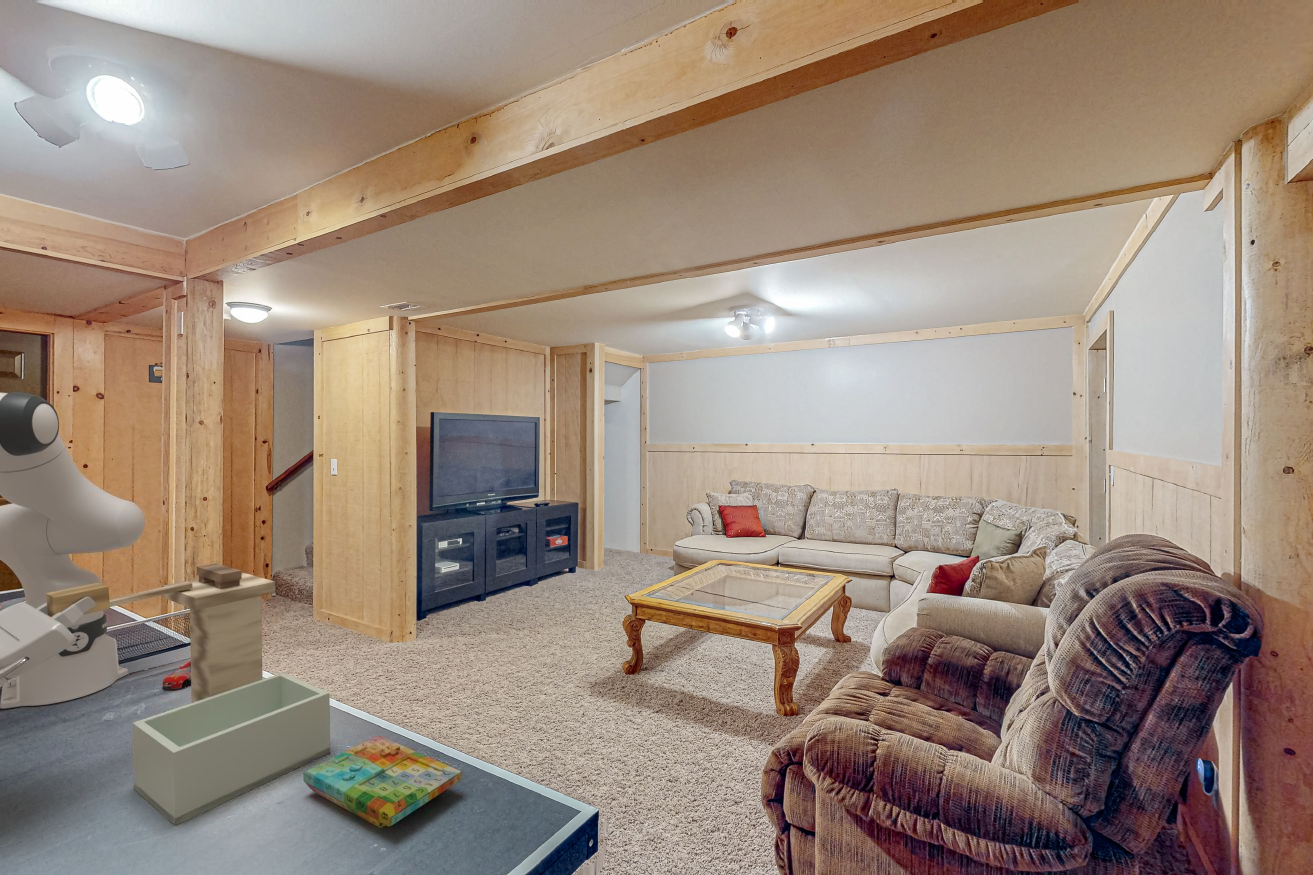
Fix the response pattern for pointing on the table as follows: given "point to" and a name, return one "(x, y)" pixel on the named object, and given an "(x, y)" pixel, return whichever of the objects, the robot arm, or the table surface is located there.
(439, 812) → the table surface
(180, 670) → the race car
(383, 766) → the puzzle game
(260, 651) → the stand
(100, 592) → the tan wooden bar
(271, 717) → the bin
